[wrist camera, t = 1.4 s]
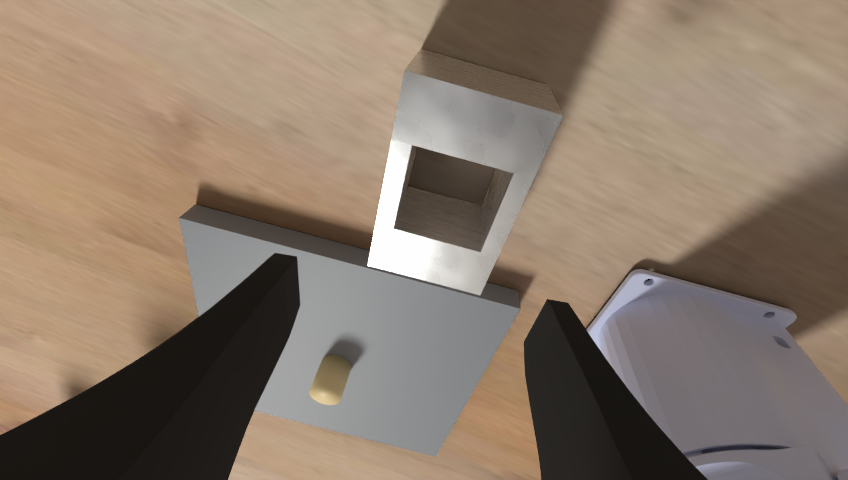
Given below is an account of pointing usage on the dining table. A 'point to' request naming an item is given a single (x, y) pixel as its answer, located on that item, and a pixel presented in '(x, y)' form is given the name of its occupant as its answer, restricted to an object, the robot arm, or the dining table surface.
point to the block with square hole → (470, 140)
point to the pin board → (357, 333)
